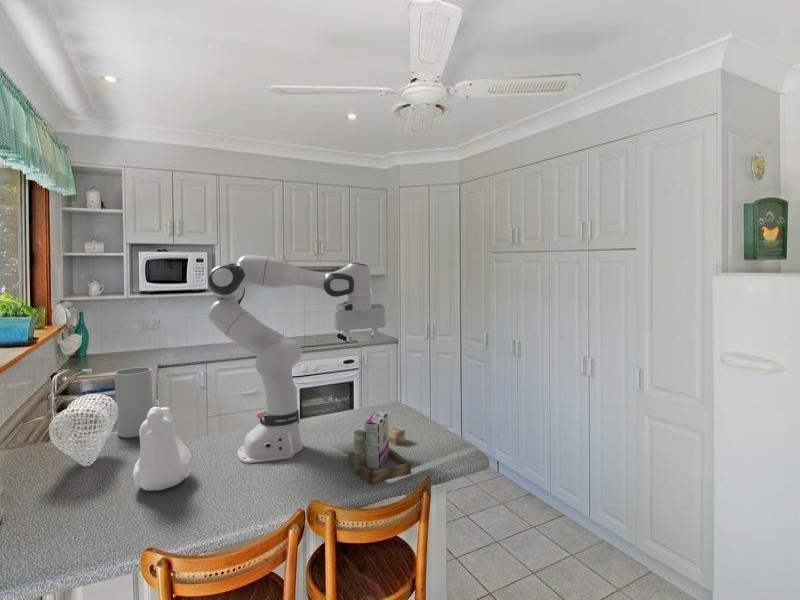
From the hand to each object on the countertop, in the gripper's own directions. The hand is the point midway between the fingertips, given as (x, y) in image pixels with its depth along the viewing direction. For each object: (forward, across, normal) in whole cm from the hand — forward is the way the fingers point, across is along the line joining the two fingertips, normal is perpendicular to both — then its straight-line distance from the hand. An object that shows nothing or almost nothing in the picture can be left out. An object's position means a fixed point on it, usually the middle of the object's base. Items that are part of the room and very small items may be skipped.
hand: (360, 340), depth 176 cm
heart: (+36, +92, -17) cm, 100 cm away
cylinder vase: (+36, +79, -44) cm, 98 cm away
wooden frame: (+37, +7, +30) cm, 48 cm away
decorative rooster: (+37, +68, +7) cm, 78 cm away
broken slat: (+37, -2, +17) cm, 41 cm away
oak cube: (+36, -6, +17) cm, 40 cm away
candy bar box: (+37, +7, +28) cm, 47 cm away
